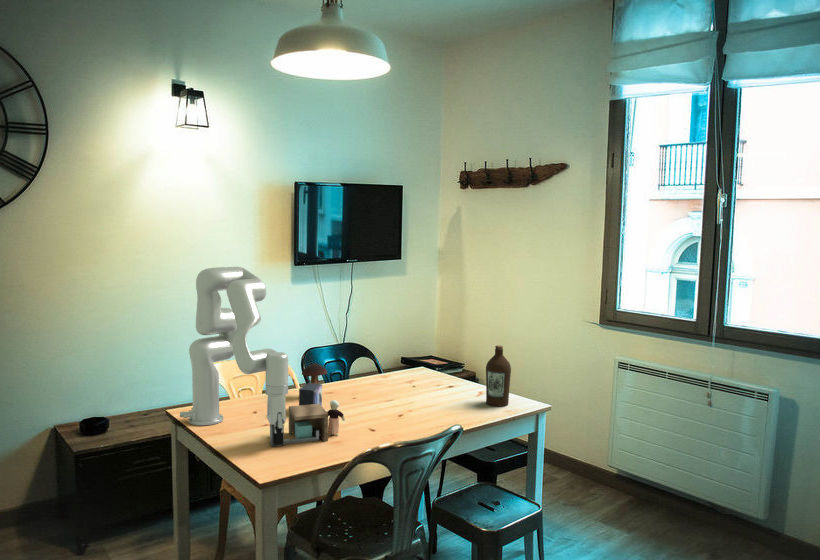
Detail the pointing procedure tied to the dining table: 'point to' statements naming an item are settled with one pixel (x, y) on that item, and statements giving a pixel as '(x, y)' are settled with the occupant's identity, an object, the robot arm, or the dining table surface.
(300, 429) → the block
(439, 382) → the dining table surface
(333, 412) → the grandmother figurine
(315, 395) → the small box
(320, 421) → the cubby
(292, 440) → the grey long piece
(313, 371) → the decorative mushroom
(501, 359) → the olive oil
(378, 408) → the dining table surface
